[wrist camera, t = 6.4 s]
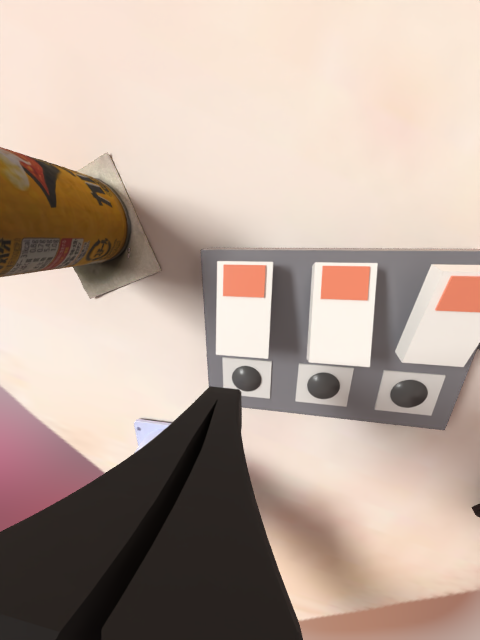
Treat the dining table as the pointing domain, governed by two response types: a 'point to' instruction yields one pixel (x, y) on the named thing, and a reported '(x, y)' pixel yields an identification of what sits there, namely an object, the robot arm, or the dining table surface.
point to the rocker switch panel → (329, 379)
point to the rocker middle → (341, 313)
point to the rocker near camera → (444, 318)
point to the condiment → (70, 223)
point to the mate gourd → (476, 510)
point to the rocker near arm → (243, 308)
